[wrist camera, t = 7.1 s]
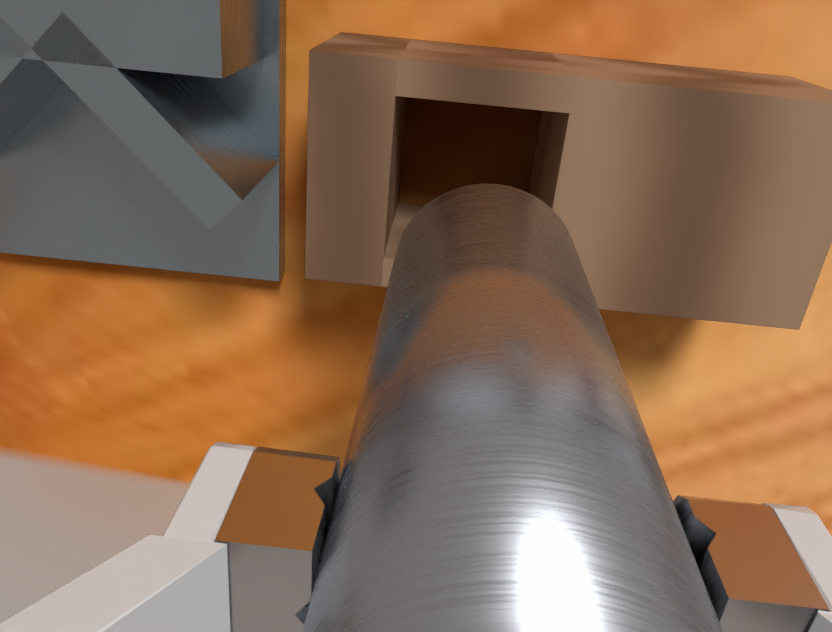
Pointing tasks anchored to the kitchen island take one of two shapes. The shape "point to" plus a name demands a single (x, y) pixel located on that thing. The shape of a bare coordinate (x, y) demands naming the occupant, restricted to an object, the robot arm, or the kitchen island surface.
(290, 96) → the kitchen island surface
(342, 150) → the walnut beam
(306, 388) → the kitchen island surface
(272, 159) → the V-block
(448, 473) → the steel axle
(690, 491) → the kitchen island surface
